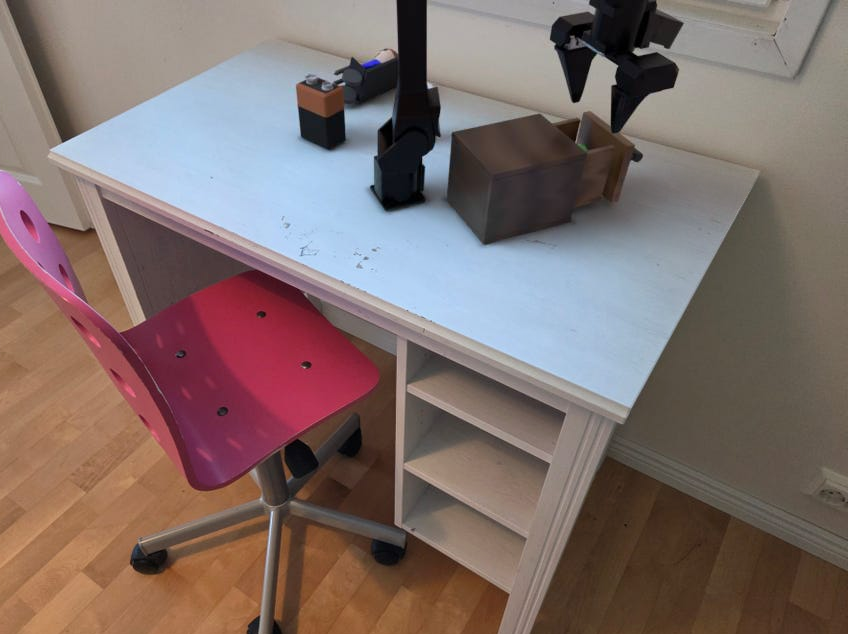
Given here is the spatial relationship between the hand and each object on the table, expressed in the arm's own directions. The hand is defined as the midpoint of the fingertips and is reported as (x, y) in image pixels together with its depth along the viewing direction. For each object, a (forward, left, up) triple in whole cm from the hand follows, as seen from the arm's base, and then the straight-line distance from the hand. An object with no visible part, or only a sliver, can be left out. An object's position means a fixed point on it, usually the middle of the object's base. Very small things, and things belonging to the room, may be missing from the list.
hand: (594, 116), depth 87 cm
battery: (-29, +30, -12) cm, 43 cm away
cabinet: (-11, 0, -12) cm, 16 cm away
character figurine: (-16, +42, -12) cm, 46 cm away
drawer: (-1, 0, -11) cm, 11 cm away
